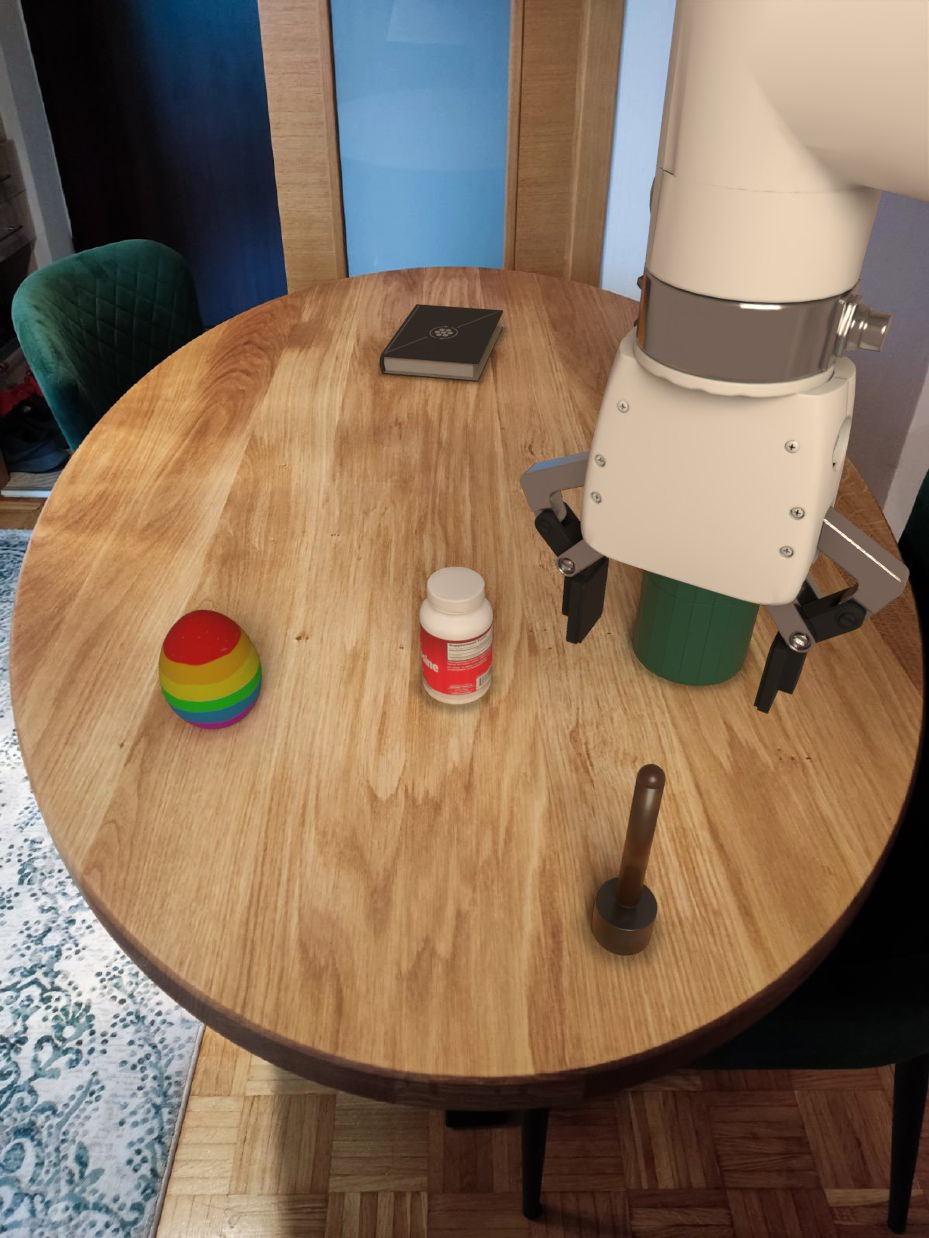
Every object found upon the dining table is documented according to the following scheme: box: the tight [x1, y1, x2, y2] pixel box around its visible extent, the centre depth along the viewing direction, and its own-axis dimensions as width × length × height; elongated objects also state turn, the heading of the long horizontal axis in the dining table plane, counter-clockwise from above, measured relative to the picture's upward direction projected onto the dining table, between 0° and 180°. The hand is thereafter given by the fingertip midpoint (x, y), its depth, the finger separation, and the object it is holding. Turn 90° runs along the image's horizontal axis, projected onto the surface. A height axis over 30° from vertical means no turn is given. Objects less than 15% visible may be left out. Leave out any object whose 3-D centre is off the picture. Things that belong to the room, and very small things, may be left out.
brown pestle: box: [591, 763, 667, 957], centre depth 54 cm, size 4×4×16 cm
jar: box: [632, 569, 761, 687], centre depth 78 cm, size 10×10×11 cm
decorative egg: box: [158, 609, 263, 730], centre depth 72 cm, size 8×8×10 cm
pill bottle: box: [418, 566, 494, 705], centre depth 74 cm, size 6×6×11 cm
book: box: [378, 303, 504, 383], centre depth 136 cm, size 22×15×3 cm
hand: (672, 660), depth 44 cm, fingers open, 9 cm apart
